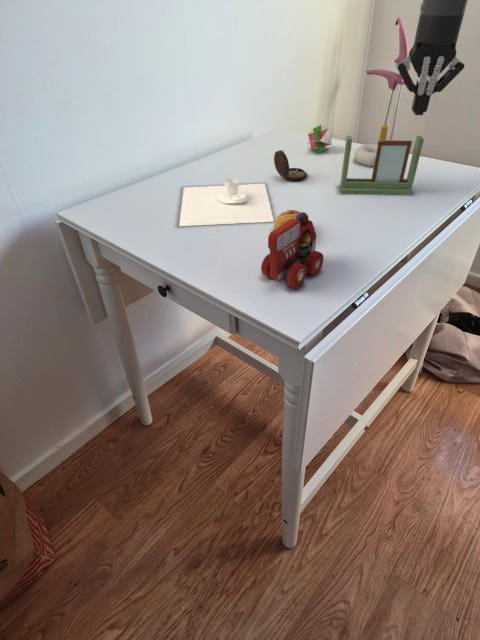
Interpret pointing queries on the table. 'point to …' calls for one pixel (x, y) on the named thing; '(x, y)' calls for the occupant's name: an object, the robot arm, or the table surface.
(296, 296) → the table surface
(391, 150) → the sash
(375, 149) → the donut
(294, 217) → the pastry
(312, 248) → the toy fire truck
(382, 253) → the table surface
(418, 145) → the window frame
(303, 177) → the compass
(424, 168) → the table surface
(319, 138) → the geometric puzzle
